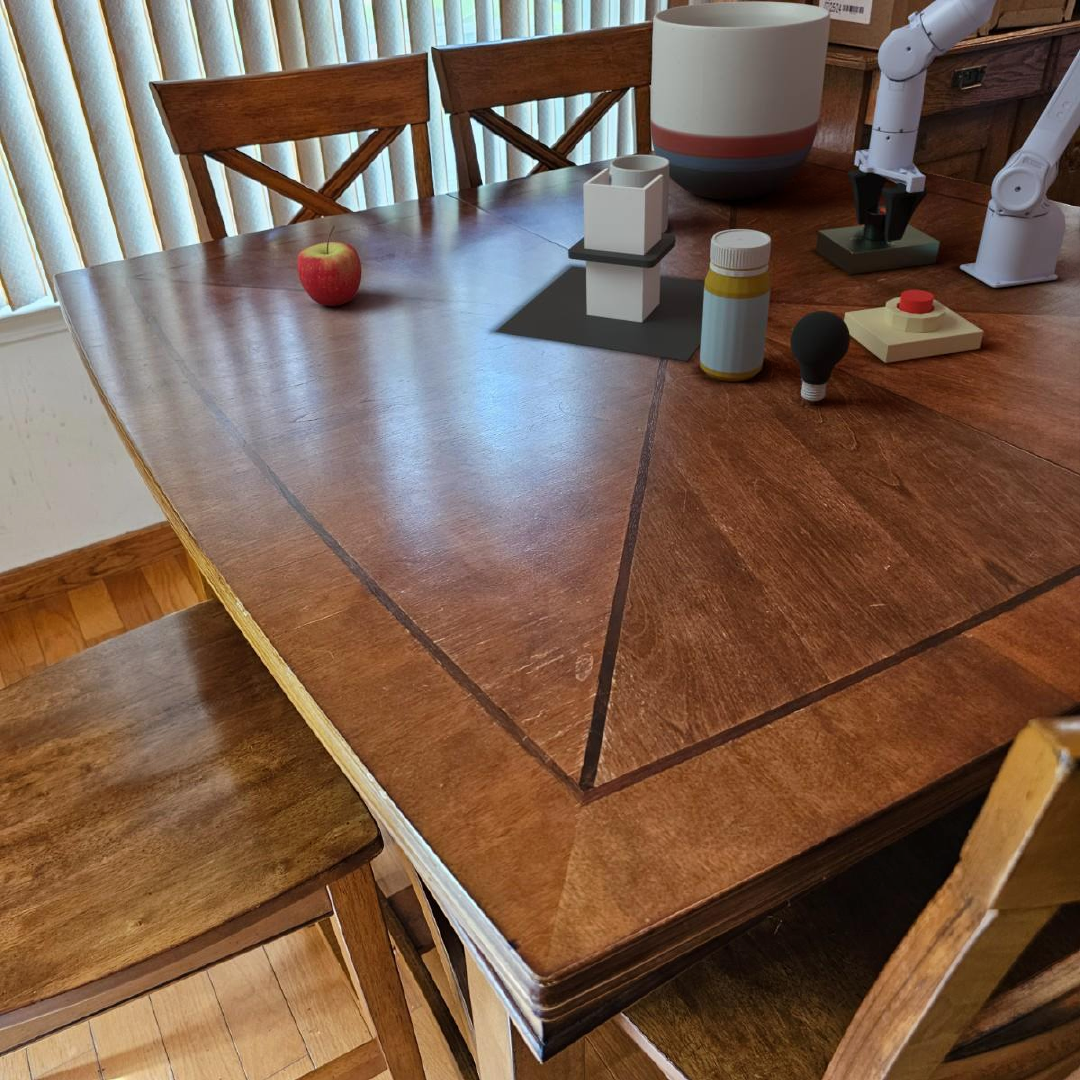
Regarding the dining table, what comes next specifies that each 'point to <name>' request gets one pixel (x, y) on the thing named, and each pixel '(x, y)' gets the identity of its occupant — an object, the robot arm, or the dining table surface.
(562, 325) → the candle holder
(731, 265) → the bottle
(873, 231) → the dimmer knob
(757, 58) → the planter
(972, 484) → the dining table surface
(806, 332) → the light bulb
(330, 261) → the apple
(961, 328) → the switch block
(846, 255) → the dimmer panel
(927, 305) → the switch button
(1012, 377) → the dining table surface
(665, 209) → the mug
